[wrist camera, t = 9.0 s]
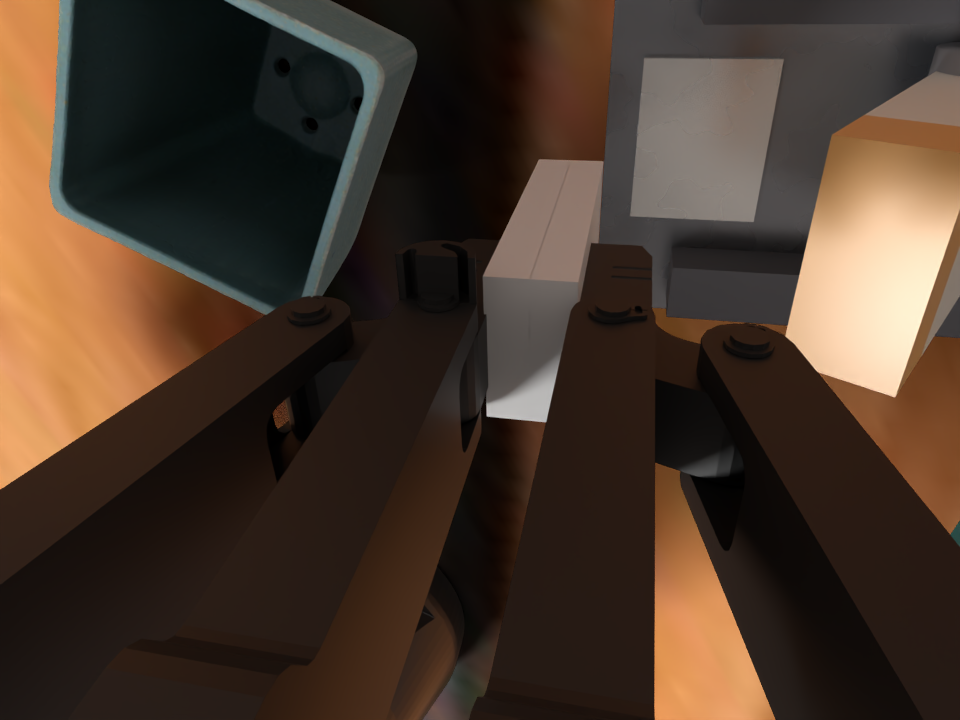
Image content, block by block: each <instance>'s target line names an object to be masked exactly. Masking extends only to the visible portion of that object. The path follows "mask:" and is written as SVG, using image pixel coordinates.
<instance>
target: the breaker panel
mask: <svg viewBox="0 0 960 720" xmlns="http://www.w3.org/2000/svg"><path fill="white" fill-rule="evenodd" d="M701 7H702V0H615V8H614V23H613V38H612V53H611V68H610V83H609V98H608V113H607V128H606V143H605V158H604V173H603V187H602V202H601V217H600V232H599V244H619V245H638V246H643V248H644V249H645V250H646V251H647V252H648V253H649V254H650V255H651V256H652V308H666V287H667V279H668V271H669V263H670V255H671V247H686V248H704V249H723V250H741V251H760V252H778V253H796V254H804V253H805V249H806V244H807V240H808V236H809V231H810V227H811V223H812V218H813V214H814V210H815V205H816V201H817V197H818V192H819V188H820V184H821V179H822V175H823V171H824V166H825V162H826V158H827V153H828V149H829V145H830V141H831V136H832V134H834V133H836V132H837V131H839V130H840V129H842V128H844V127H845V126H847V125H849V124H850V123H852V122H854V121H855V120H857V119H859V118H860V117H862V116H863V115H865V114H867V113H868V112H870V111H872V110H873V109H875V108H877V107H878V106H880V105H882V104H883V103H885V102H886V101H888V100H890V99H891V98H893V97H895V96H896V95H898V94H900V93H901V92H903V91H904V90H906V89H908V88H909V87H911V86H913V85H914V84H916V83H918V82H919V81H921V80H923V79H924V78H926V77H927V76H928V74H929V71H930V67H931V64H932V60H933V57H934V53H935V50H936V46H937V45H940V44H944V43H952V42H960V24H778V25H704V24H703V22H702V20H701V18H700V15H701Z"/></svg>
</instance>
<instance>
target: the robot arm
mask: <svg viewBox="0 0 960 720" xmlns="http://www.w3.org/2000/svg"><path fill="white" fill-rule="evenodd" d="M603 162H604V161H581V160H547V159H539V160H538V163H537V165H536V167H535V169H534V171H533V173H532V175H531V177H530V179H529V181H528V183H527V185H526V187H525V190H524V192H523V194H522V196H521V198H520V200H519V202H518V204H517V206H516V208H515V210H514V212H513V214H512V217H511V219H510V221H509V223H508V225H507V227H506V229H505V231H504V233H503V235H502V237H501V239H500V240H486V239H467V240H465V241H463V242H462V243H460V242H454V241H446V240H437V241H425V242H419V243H414V244H411V245H409V246H406V247H403V248H402V249H401V250H399V251H398V252H397V253H395V257H396V267H397V277H398V287H399V298H400V300H399V301H398V303H397V304H396V306H395V307H394V309H393V310H392V312H391V313H390V315H389V316H388V318H383V319H377V320H366V321H356V322H352V319H351V312H350V307H349V306H348V305H347V304H346V303H345V302H344V301H341V300H339V299H336V298H331V297H323V296H313V297H311V296H306V297H302V298H300V299H298V300H294V301H290V302H288V303H286V304H284V305H281V306H279V307H277V308H276V309H274V310H273V311H271V312H270V313H268V314H267V315H265V316H264V317H262V318H261V319H259V320H258V321H256V322H255V323H253V324H252V325H250V326H249V327H247V328H245V329H244V330H242V331H241V332H239V333H238V334H236V335H235V336H233V337H232V338H230V339H229V340H227V341H226V342H224V343H223V344H221V345H220V346H218V347H217V348H215V349H214V350H212V351H210V352H209V353H207V354H206V355H204V356H203V357H201V358H200V359H198V360H197V361H195V362H194V363H192V364H191V365H189V366H188V367H186V368H185V369H183V370H182V371H180V372H179V373H177V374H176V375H174V376H172V377H171V378H169V379H168V380H166V381H165V382H163V383H162V384H160V385H159V386H157V387H156V388H154V389H153V390H151V391H150V392H148V393H147V394H145V395H144V396H142V397H141V398H139V399H138V400H136V401H134V402H133V403H131V404H130V405H128V406H127V407H125V408H124V409H122V410H121V411H119V412H118V413H116V414H115V415H113V416H112V417H110V418H109V419H107V420H106V421H104V422H103V423H101V424H100V425H98V426H96V427H95V428H93V429H92V430H90V431H89V432H87V433H86V434H84V435H83V436H81V437H80V438H78V439H77V440H75V441H74V442H72V443H71V444H69V445H68V446H66V447H65V448H63V449H62V450H60V451H58V452H57V453H55V454H54V455H52V456H51V457H49V458H48V459H46V460H45V461H43V462H42V463H40V464H39V465H37V466H36V467H34V468H33V469H31V470H30V471H28V472H27V473H25V474H24V475H22V476H20V477H19V478H17V479H16V480H14V481H13V482H11V483H10V484H8V485H7V486H5V487H4V488H2V489H1V490H0V720H423V718H424V717H425V715H426V714H427V713H428V711H429V710H430V708H431V707H432V705H433V704H434V702H435V701H436V699H437V698H438V697H439V695H440V694H441V692H442V691H443V689H444V688H445V686H446V685H447V683H448V682H449V680H450V678H451V676H452V674H453V671H454V669H455V666H456V663H457V659H458V655H459V651H460V648H461V644H462V640H463V636H464V629H465V621H464V614H463V609H462V606H461V603H460V601H459V598H458V596H457V594H456V592H455V590H454V588H453V587H452V585H451V584H450V582H449V581H448V579H447V578H446V577H445V575H444V574H443V573H442V572H441V570H440V569H439V568H438V567H437V565H438V562H439V559H440V556H441V553H442V550H443V547H444V544H445V541H446V538H447V535H448V532H449V528H450V525H451V522H452V519H453V516H454V513H455V510H456V507H457V504H458V501H459V498H460V495H461V492H462V489H463V486H464V483H465V480H466V477H467V474H468V471H469V468H470V465H471V462H472V459H473V456H474V453H475V450H476V447H477V444H478V441H479V438H480V435H481V406H482V403H483V401H484V398H485V395H486V407H487V417H497V418H507V419H517V420H527V421H537V422H546V425H545V430H544V434H543V439H542V443H541V448H540V453H539V457H538V462H537V466H536V471H535V475H534V480H533V484H532V489H531V493H530V498H529V503H528V507H527V512H526V516H525V521H524V525H523V530H522V534H521V539H520V544H519V548H518V553H517V557H516V562H515V566H514V571H513V575H512V580H511V584H510V589H509V594H508V598H507V603H506V607H505V612H504V616H503V621H502V625H501V630H500V634H499V639H498V644H497V648H496V653H495V657H494V662H493V666H492V671H491V675H490V679H489V683H488V687H487V690H486V693H485V695H484V696H483V697H477V699H476V702H475V704H474V706H473V708H472V711H471V714H470V718H469V720H655V716H654V622H655V463H658V464H661V465H664V466H667V467H670V468H673V469H676V470H679V471H681V472H680V482H681V487H682V490H683V492H684V495H685V497H686V500H687V502H688V505H689V507H690V510H691V512H692V515H693V517H694V519H695V522H696V524H697V527H698V529H699V532H700V534H701V537H702V539H703V542H704V544H705V547H706V549H707V552H708V554H709V556H710V559H711V561H712V564H713V566H714V569H715V571H716V574H717V576H718V579H719V581H720V584H721V586H722V589H723V591H724V593H725V596H726V598H727V601H728V603H729V606H730V608H731V611H732V613H733V616H734V618H735V621H736V623H737V626H738V628H739V630H740V633H741V635H742V638H743V640H744V643H745V645H746V648H747V650H748V653H749V655H750V658H751V660H752V662H753V665H754V667H755V670H756V672H757V675H758V677H759V680H760V682H761V685H762V687H763V690H764V692H765V695H766V697H767V699H768V702H769V704H770V707H771V709H772V712H773V714H774V717H775V719H776V720H960V546H959V545H958V544H957V543H956V541H955V540H954V539H953V538H952V536H951V535H950V534H949V533H948V532H947V530H946V529H945V528H944V527H943V525H942V524H941V523H940V522H939V521H938V519H937V518H936V517H935V516H934V514H933V513H932V512H931V511H930V509H929V508H928V507H927V506H926V505H925V503H924V502H923V501H922V500H921V498H920V497H919V496H918V495H917V494H916V492H915V491H914V490H913V489H912V487H911V486H910V485H909V484H908V483H907V481H906V480H905V479H904V478H903V476H902V475H901V474H900V473H899V471H898V470H897V469H896V468H895V467H894V465H893V464H892V463H891V462H890V460H889V459H888V458H887V457H886V456H885V454H884V453H883V452H882V451H881V449H880V448H879V447H878V446H877V445H876V443H875V442H874V441H873V440H872V438H871V437H870V436H869V435H868V434H867V432H866V431H865V430H864V429H863V427H862V426H861V425H860V424H859V422H858V421H857V420H856V419H855V418H854V416H853V415H852V414H851V413H850V411H849V410H848V409H847V408H846V407H845V405H844V404H843V403H842V402H841V400H840V399H839V398H838V397H837V396H836V394H835V393H834V392H833V391H832V389H831V388H830V387H829V386H828V384H827V383H826V382H825V381H824V380H823V378H822V377H821V376H820V375H819V373H818V372H817V371H816V370H815V369H814V367H813V366H812V365H811V364H810V362H809V361H808V360H807V359H806V358H805V356H804V355H803V354H802V353H801V351H800V350H799V349H798V348H797V347H796V345H795V344H794V343H793V342H792V341H790V340H789V339H788V338H787V337H785V336H784V335H782V334H780V333H778V332H775V331H773V330H771V329H769V328H767V327H764V326H761V325H758V326H756V324H750V323H745V324H726V325H720V326H716V327H714V328H712V329H710V330H707V331H706V332H705V334H704V335H703V337H702V338H701V344H698V343H694V342H690V341H686V340H683V339H680V338H677V337H675V336H672V335H670V334H668V333H666V332H665V331H663V330H662V329H661V328H659V327H658V326H657V324H656V323H655V315H654V312H653V310H652V256H651V255H650V254H649V253H648V252H647V251H646V250H645V249H644V248H643V246H638V245H619V244H599V243H598V242H599V226H600V210H601V194H602V178H603ZM284 400H285V404H286V409H287V414H288V418H289V421H288V422H287V423H286V424H284V425H283V426H282V427H280V428H278V429H277V427H276V426H275V422H274V418H273V411H274V410H275V409H276V408H277V406H278V405H279V404H281V403H282V402H283V401H284Z"/></svg>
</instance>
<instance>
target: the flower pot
mask: <svg viewBox="0 0 960 720" xmlns="http://www.w3.org/2000/svg"><path fill="white" fill-rule="evenodd" d="M280 59H286V60H287V61H288V62H289V65H290V71H289V72H288V73H283V72H282V71H281V70H280V69H279V65H278V63H279V60H280ZM416 62H417V51H416V48H415V46H414V44H413V43H412V42H411V41H409V40H408V39H407V38H405V37H403V36H401V35H399V34H397V33H395V32H393V31H391V30H389V29H387V28H385V27H383V26H381V25H379V24H377V23H375V22H373V21H371V20H369V19H367V18H365V17H363V16H361V15H359V14H357V13H355V12H353V11H351V10H349V9H347V8H345V7H343V6H341V5H339V4H337V3H335V2H333V1H331V0H60V3H59V30H58V55H57V69H56V74H57V75H56V100H55V103H56V106H55V122H54V128H53V131H54V132H53V147H52V161H51V169H50V182H49V188H50V193H51V198H52V204H53V206H54V208H55V209H56V211H57V212H58V213H60V214H61V215H63V216H64V217H66V218H68V219H70V220H71V221H73V222H75V223H77V224H79V225H82V226H84V227H86V228H88V229H90V230H92V231H94V232H96V233H98V234H100V235H103V236H105V237H107V238H110V239H111V240H113V241H115V242H118V243H120V244H122V245H124V246H126V247H128V248H130V249H132V250H134V251H137V252H138V253H141V254H142V255H144V256H146V257H148V258H150V259H152V260H154V261H157V262H159V263H161V264H163V265H166V266H168V267H169V268H171V269H174V270H176V271H177V272H180V273H182V274H184V275H186V276H187V277H189V278H191V279H194V280H196V281H198V282H200V283H202V284H204V285H207V286H209V287H210V288H212V289H214V290H216V291H218V292H220V293H222V294H223V295H226V296H228V297H230V298H232V299H235V300H237V301H239V302H241V303H243V304H245V305H247V306H249V307H251V308H252V309H254V310H256V311H258V312H260V313H262V314H264V315H267V314H268V313H270V312H271V311H273V310H274V309H276V308H277V307H279V306H281V305H284V304H286V303H288V302H290V301H294V300H298V299H300V298H302V297H306V296H311V297H313V296H323V294H324V292H325V291H326V289H327V288H328V286H329V284H330V283H331V281H332V280H333V278H334V277H335V275H336V273H337V272H338V270H339V268H340V267H341V265H342V263H343V262H344V260H345V258H346V257H347V255H348V253H349V251H350V249H351V247H352V245H353V243H354V241H355V239H356V236H357V234H358V231H359V228H360V225H361V222H362V219H363V216H364V213H365V210H366V207H367V204H368V201H369V198H370V195H371V192H372V189H373V186H374V183H375V180H376V178H377V175H378V172H379V169H380V166H381V163H382V160H383V157H384V154H385V152H386V149H387V146H388V143H389V140H390V137H391V134H392V131H393V129H394V126H395V123H396V120H397V117H398V114H399V111H400V108H401V106H402V103H403V100H404V97H405V94H406V91H407V89H408V86H409V83H410V80H411V77H412V75H413V72H414V69H415V66H416ZM356 98H363V100H362V104H361V106H360V109H359V111H358V110H357V109H356V107H355V105H354V102H355V99H356ZM308 118H313V119H315V120H316V122H317V123H318V128H317V129H316V130H311V129H309V128H308V126H307V124H306V121H307V119H308Z"/></svg>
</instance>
